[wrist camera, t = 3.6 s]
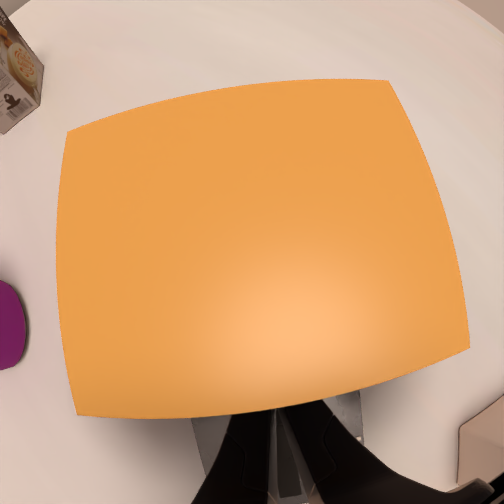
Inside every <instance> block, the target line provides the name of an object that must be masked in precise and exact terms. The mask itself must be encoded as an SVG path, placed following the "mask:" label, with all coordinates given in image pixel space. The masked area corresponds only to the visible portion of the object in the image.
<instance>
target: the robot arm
mask: <svg viewBox="0 0 504 504" xmlns="http://www.w3.org/2000/svg"><path fill="white" fill-rule="evenodd" d="M278 411H279V414H280V417H281V420H282V423H283V426H284V429H285V432H286V435H287V438H288V441H289V444H290V448H291V451H292V454H293V457H294V460H295V463H296V466H297V469H298V472H299V474H300V477H301V480H302V483H303V486H304V489H305V492H306V495H307V498H308V500H309V504H504V471H503V472H502V473H500V474H499V475H498V476H496V477H495V478H494V479H492V480H491V481H490V482H488V483H486V482H485V481H483V480H482V479H480V478H476V479H473V480H471V481H469V482H467V483H465V484H463V485H461V486H459V487H457V488H455V489H453V490H450V491H448V492H442V491H438V490H436V489H433V488H430V487H428V486H425V485H423V484H420V483H418V482H416V481H413V480H411V479H409V478H406V477H404V476H402V475H400V474H398V473H396V472H395V471H393V470H392V469H390V468H389V467H388V466H386V465H385V464H384V463H383V462H382V461H380V460H379V459H378V458H377V457H376V456H375V455H374V454H372V453H371V452H370V451H369V450H368V449H367V448H366V447H365V446H363V445H362V444H361V443H360V442H359V441H358V440H357V439H356V438H355V437H354V436H353V435H352V434H351V433H350V432H349V431H348V430H347V428H346V427H345V426H344V425H343V424H342V423H341V421H340V420H339V419H338V418H337V416H336V415H333V414H334V413H333V412H332V410H331V409H330V408H329V407H328V405H327V404H326V403H325V402H324V400H323V399H320V400H315V401H311V402H306V403H301V404H296V405H291V406H285V407H280V408H278ZM191 504H278V485H277V436H276V408H274V409H268V410H261V411H254V412H247V413H239V414H231V417H230V420H229V423H228V426H227V429H226V433H225V435H224V438H223V441H222V443H221V446H220V449H219V451H218V454H217V456H216V458H215V461H214V463H213V465H212V467H211V469H210V471H209V473H208V475H207V476H206V478H205V480H204V482H203V484H202V486H201V487H200V489H199V491H198V493H197V495H196V496H195V498H194V500H193V501H192V503H191Z"/></svg>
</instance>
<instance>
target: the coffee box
mask: <svg viewBox="0 0 504 504" xmlns="http://www.w3.org/2000/svg"><path fill="white" fill-rule="evenodd" d="M43 68H44V66H43V64H42V63H41V62H40V60H39V59H38V58H37V56H36V55H35V54H34V52H33V51H32V50H31V49H30V47H29V46H28V45H27V43H26V42H25V40H24V39H23V38H22V36H21V35H20V34H19V32H18V31H17V29H16V28H15V27H14V25H13V24H12V23H11V21H10V20H9V18H8V17H7V16H6V14H5V13H4V11H3V10H2V9H1V7H0V132H1V133H2V134H5V133H6V132H7V131H8V130H9V129H11V128H12V127H13V126H14V125H15V124H17V123H18V122H19V121H20V120H21V119H23V118H24V117H25V116H26V115H28V114H29V113H30V112H32V111H33V110H34V109H36V108H37V107H38V106H39V105H40V95H41V85H42V76H43Z"/></svg>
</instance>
